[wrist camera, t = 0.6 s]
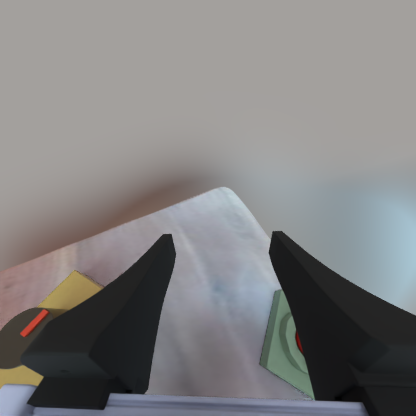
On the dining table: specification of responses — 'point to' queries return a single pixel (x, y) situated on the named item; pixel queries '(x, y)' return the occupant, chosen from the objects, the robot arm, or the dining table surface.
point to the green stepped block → (284, 347)
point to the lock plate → (59, 299)
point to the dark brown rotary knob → (23, 334)
